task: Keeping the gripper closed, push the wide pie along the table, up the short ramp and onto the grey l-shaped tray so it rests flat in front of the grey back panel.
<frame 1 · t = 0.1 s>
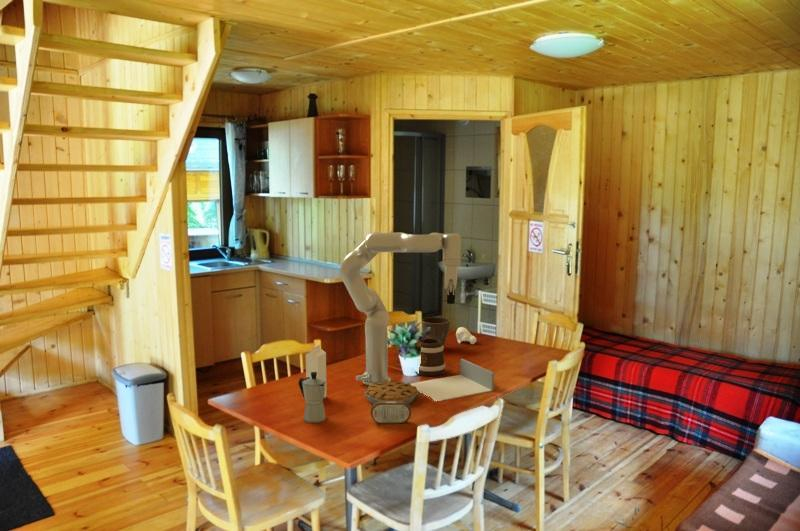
hand: (451, 301, 266), 37 cm above the table, tool pointing down, fingers open, 9 cm apart
cream rounded lump: (466, 343, 342), on the table
tin: (390, 423, 227), on the table
grey l-shaped tray: (452, 387, 267), on the table
coffee maker: (312, 418, 232), on the table
pie: (391, 399, 253), on the table
mug: (426, 371, 291), on the table
plant pot: (435, 349, 329), on the table
milk: (316, 398, 253), on the table
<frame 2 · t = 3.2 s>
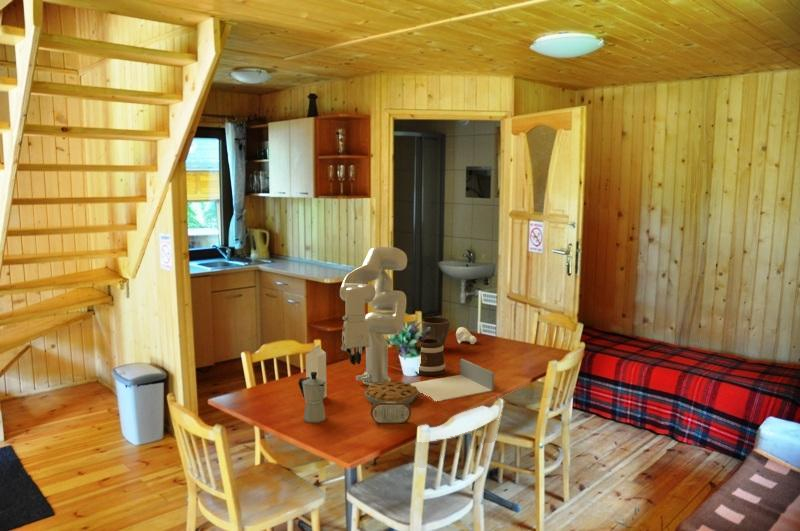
hand: (355, 363, 243), 17 cm above the table, tool pointing down, fingers closed
nothing on the table moved.
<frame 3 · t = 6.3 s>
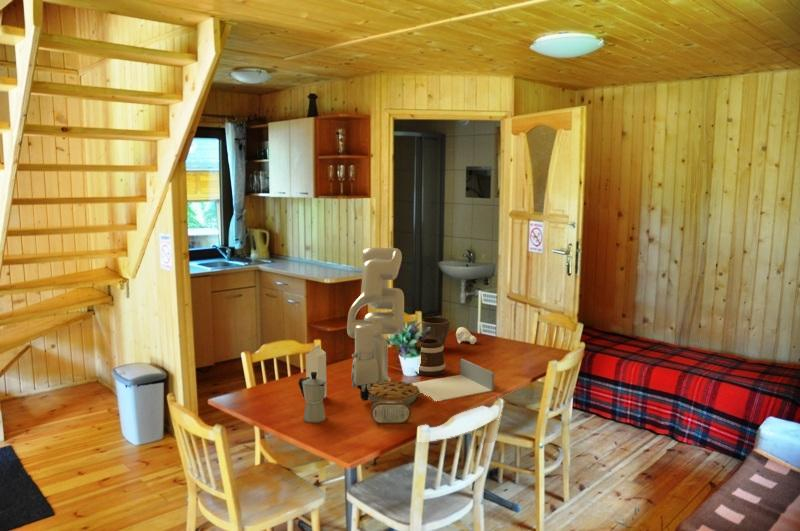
hand: (364, 399, 247), 2 cm above the table, tool pointing down, fingers closed
pie: (392, 399, 253), on the table, touching gripper
everything else where it was.
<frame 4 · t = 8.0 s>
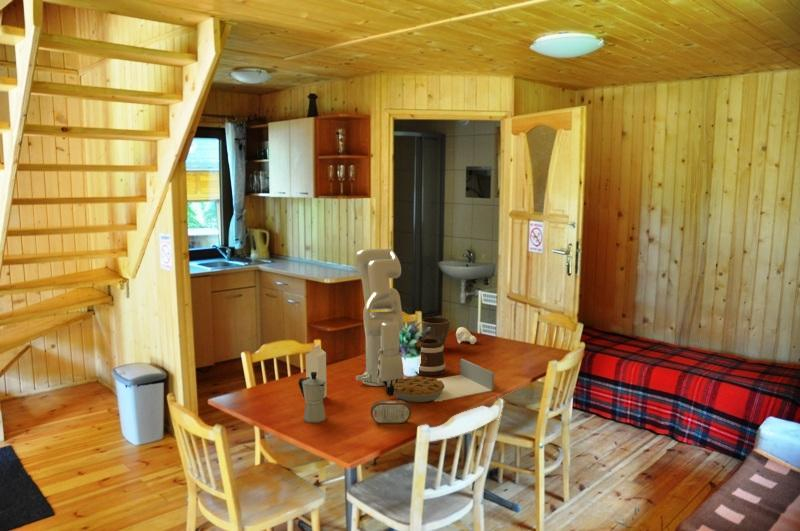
hand: (389, 395, 252), 2 cm above the table, tool pointing down, fingers closed
pie: (418, 394, 258), on the table, touching grey l-shaped tray, gripper
everything else where it was.
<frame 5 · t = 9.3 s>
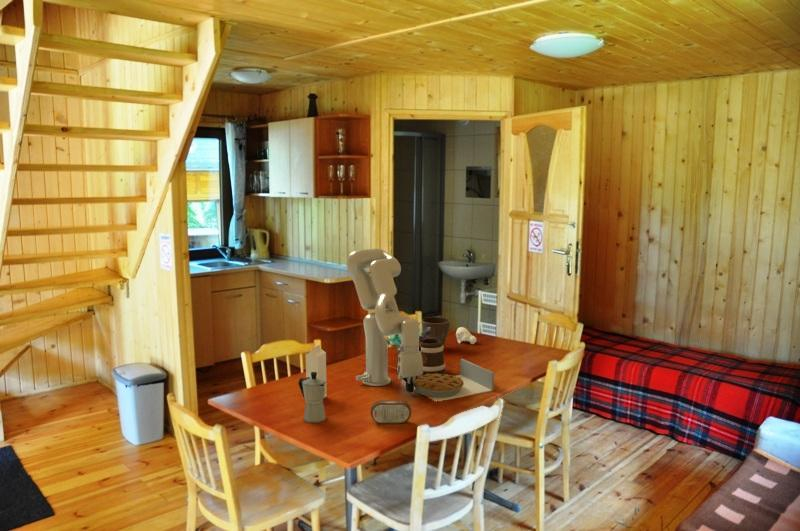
hand: (409, 391, 257), 2 cm above the table, tool pointing down, fingers closed
pie: (437, 390, 262), resting on grey l-shaped tray, touching gripper
everything else where it was.
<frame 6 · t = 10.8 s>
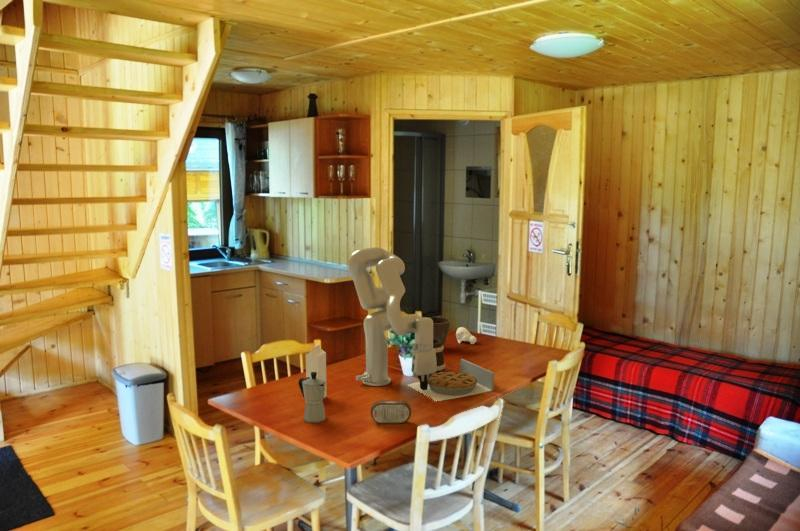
hand: (423, 389, 260), 2 cm above the table, tool pointing down, fingers closed
pie: (451, 388, 265), resting on grey l-shaped tray, touching gripper
everything else where it was.
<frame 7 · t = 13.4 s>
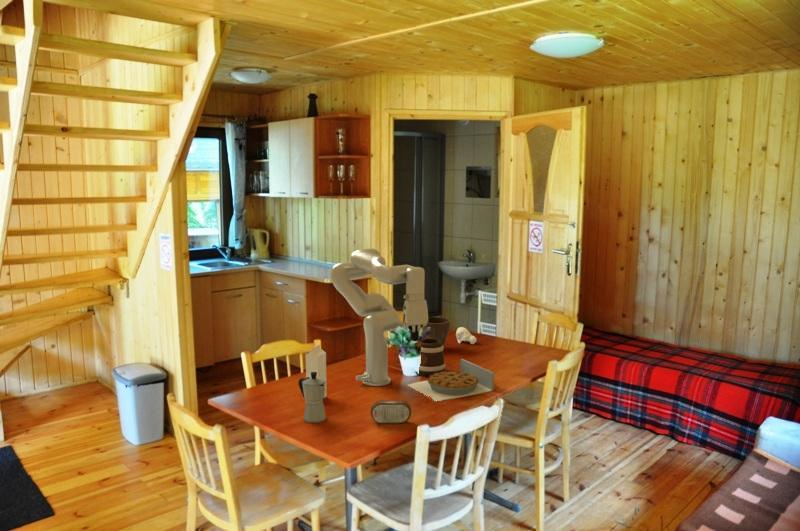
hand: (414, 340, 255), 23 cm above the table, tool pointing down, fingers closed
pie: (453, 388, 265), resting on grey l-shaped tray
everything else where it was.
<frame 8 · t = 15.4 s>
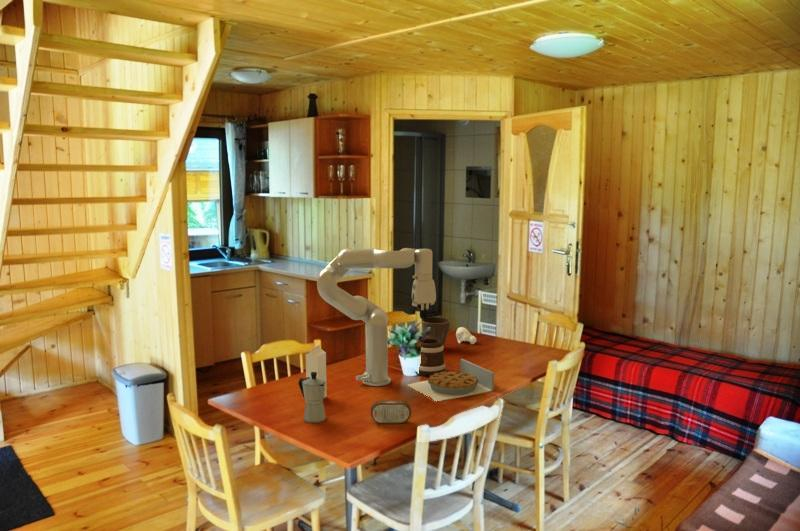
hand: (423, 318, 270), 29 cm above the table, tool pointing down, fingers closed
nothing on the table moved.
at the end: pie inside the target area on the grey l-shaped tray (1.7 cm from its centre), point 0.3 cm above the grey l-shaped tray's base; pie tilted 0°; pie touching grey l-shaped tray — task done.
